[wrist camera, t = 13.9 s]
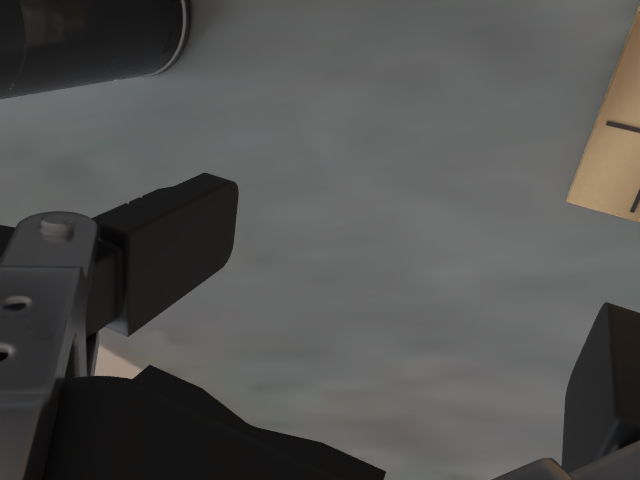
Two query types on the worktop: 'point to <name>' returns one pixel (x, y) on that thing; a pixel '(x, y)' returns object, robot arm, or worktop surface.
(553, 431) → the worktop surface
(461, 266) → the worktop surface
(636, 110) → the grid board
